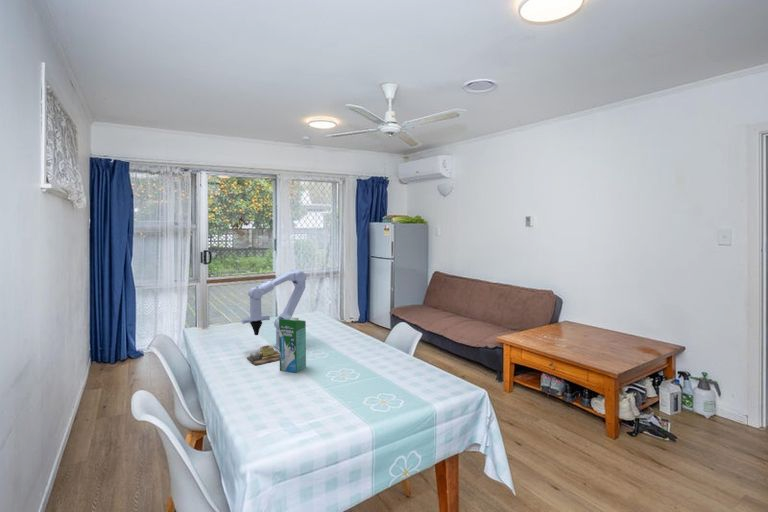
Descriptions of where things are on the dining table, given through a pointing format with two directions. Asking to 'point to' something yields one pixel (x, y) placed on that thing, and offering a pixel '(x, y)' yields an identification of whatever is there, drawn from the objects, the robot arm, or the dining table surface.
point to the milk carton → (292, 344)
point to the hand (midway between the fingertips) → (256, 334)
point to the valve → (266, 351)
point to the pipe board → (263, 358)
